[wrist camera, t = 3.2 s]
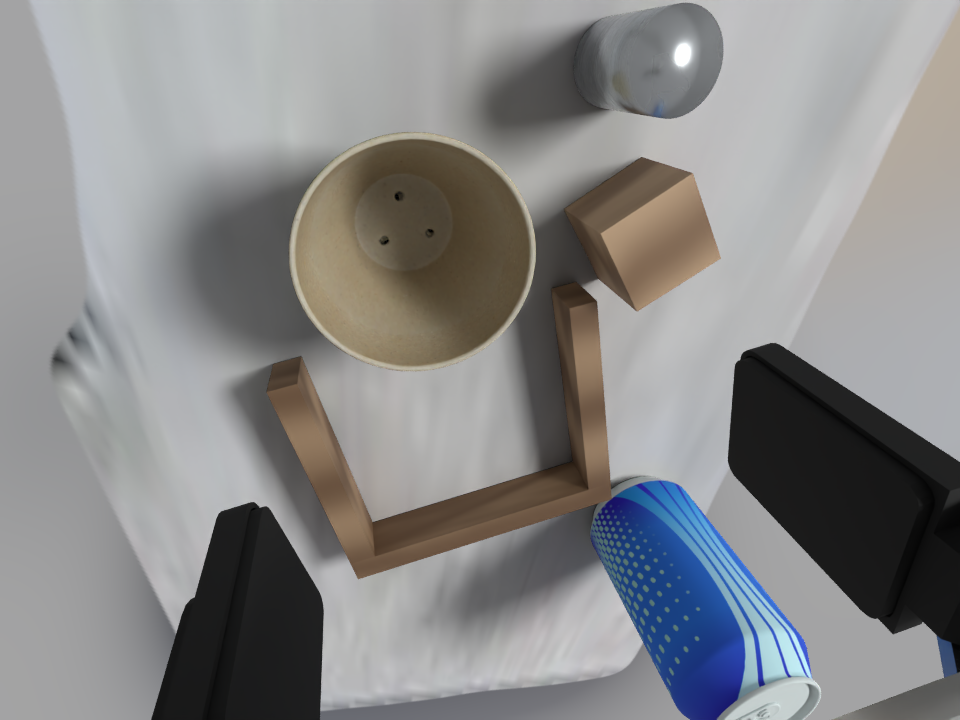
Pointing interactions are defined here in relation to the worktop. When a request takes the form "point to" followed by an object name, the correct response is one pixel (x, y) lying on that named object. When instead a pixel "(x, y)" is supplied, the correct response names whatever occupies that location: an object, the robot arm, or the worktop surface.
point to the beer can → (700, 608)
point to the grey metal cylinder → (650, 60)
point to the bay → (475, 511)
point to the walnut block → (644, 231)
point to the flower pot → (412, 251)
